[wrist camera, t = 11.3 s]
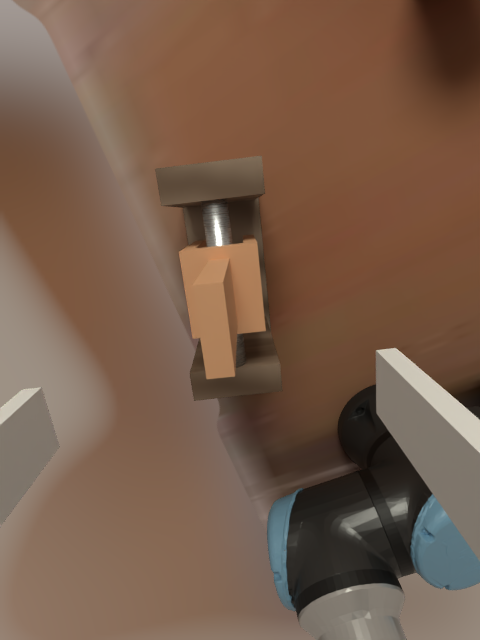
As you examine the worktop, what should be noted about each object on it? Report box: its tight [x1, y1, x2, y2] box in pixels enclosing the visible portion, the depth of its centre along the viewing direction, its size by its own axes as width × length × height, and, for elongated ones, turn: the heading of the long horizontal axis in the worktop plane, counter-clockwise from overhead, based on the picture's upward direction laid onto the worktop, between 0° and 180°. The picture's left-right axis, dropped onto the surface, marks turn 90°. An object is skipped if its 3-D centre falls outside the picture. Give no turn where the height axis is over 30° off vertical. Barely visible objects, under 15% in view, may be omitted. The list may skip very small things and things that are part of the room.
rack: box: [155, 156, 282, 401], centre depth 42 cm, size 22×10×18 cm, turn 6°
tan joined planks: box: [179, 234, 266, 379], centre depth 33 cm, size 8×7×23 cm
